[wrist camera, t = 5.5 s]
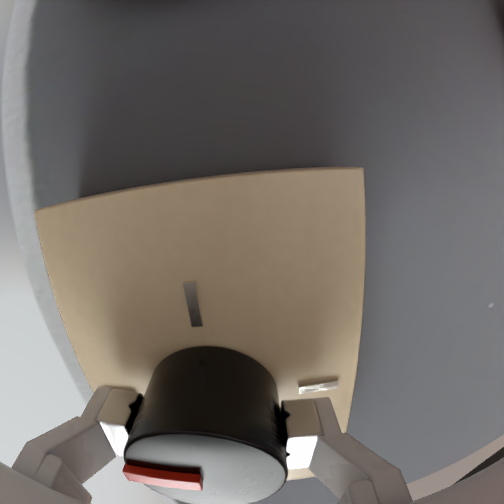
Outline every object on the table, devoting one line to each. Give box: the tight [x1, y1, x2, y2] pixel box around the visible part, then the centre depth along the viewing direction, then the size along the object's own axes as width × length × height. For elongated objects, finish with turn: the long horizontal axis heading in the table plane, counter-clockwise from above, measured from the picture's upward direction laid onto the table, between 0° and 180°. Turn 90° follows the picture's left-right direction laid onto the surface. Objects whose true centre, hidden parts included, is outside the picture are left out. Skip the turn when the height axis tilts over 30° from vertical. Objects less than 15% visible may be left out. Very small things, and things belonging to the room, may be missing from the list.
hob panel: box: [35, 167, 366, 480], centre depth 11 cm, size 14×10×3 cm
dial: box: [123, 346, 288, 504], centre depth 7 cm, size 4×4×4 cm
